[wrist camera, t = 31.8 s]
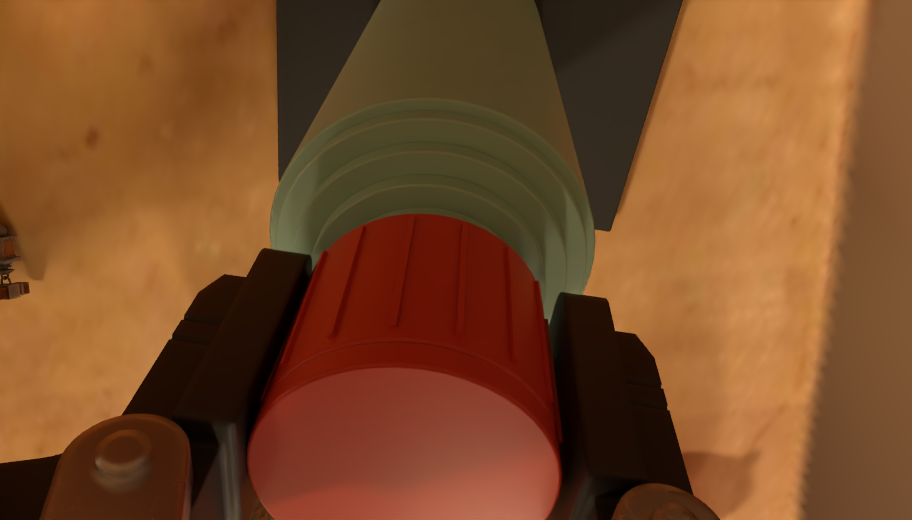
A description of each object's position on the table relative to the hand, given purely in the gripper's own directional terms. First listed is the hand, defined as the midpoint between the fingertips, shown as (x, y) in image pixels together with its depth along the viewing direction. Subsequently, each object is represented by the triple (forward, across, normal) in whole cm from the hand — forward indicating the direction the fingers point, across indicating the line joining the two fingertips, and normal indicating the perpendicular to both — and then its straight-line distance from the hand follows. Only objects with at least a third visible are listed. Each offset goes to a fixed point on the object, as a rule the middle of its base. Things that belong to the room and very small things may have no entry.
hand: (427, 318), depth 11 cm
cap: (0, 0, 0) cm, 0 cm away
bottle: (+16, 0, 0) cm, 16 cm away
